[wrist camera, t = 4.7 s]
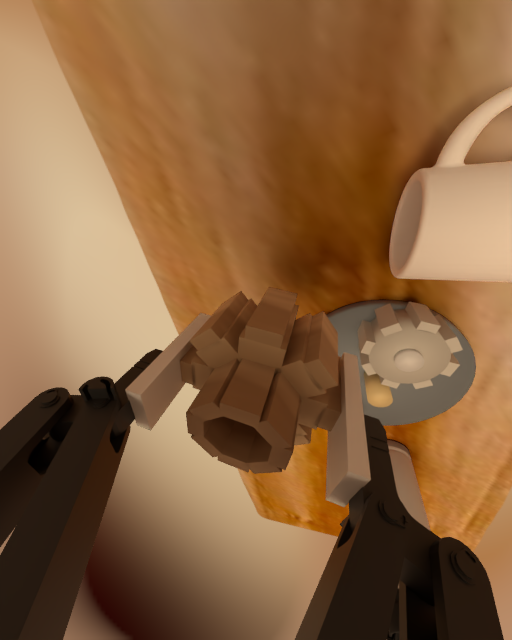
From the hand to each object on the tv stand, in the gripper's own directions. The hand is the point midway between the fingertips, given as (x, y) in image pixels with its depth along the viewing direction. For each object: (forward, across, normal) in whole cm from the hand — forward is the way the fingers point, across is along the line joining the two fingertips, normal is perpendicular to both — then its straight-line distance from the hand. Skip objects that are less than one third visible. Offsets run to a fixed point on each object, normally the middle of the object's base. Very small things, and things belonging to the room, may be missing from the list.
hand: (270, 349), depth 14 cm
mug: (+15, +12, +10) cm, 22 cm away
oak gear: (0, 0, 0) cm, 0 cm away
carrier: (+15, +12, -11) cm, 22 cm away
